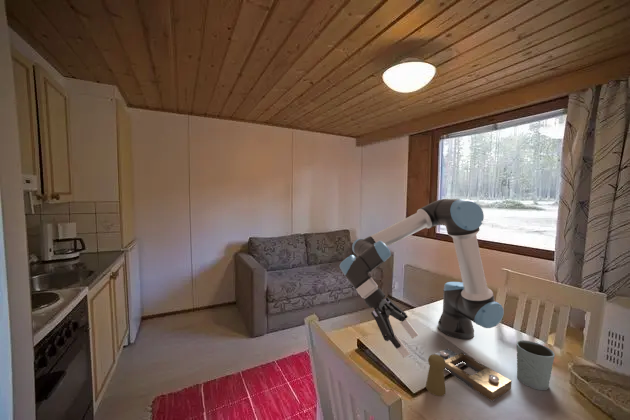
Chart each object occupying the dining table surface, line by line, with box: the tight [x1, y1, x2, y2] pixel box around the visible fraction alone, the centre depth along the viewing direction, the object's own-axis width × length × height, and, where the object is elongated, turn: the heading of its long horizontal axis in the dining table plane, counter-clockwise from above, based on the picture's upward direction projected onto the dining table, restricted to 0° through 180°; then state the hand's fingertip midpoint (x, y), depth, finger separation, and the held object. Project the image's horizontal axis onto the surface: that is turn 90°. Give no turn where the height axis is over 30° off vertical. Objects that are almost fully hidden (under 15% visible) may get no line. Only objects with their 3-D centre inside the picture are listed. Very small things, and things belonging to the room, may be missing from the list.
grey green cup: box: [516, 340, 556, 391], centre depth 91 cm, size 10×10×12 cm
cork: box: [425, 353, 447, 397], centre depth 87 cm, size 6×6×11 cm
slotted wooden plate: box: [434, 348, 512, 402], centre depth 95 cm, size 23×11×4 cm, turn 28°
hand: (411, 345), depth 90 cm, fingers open, 13 cm apart
